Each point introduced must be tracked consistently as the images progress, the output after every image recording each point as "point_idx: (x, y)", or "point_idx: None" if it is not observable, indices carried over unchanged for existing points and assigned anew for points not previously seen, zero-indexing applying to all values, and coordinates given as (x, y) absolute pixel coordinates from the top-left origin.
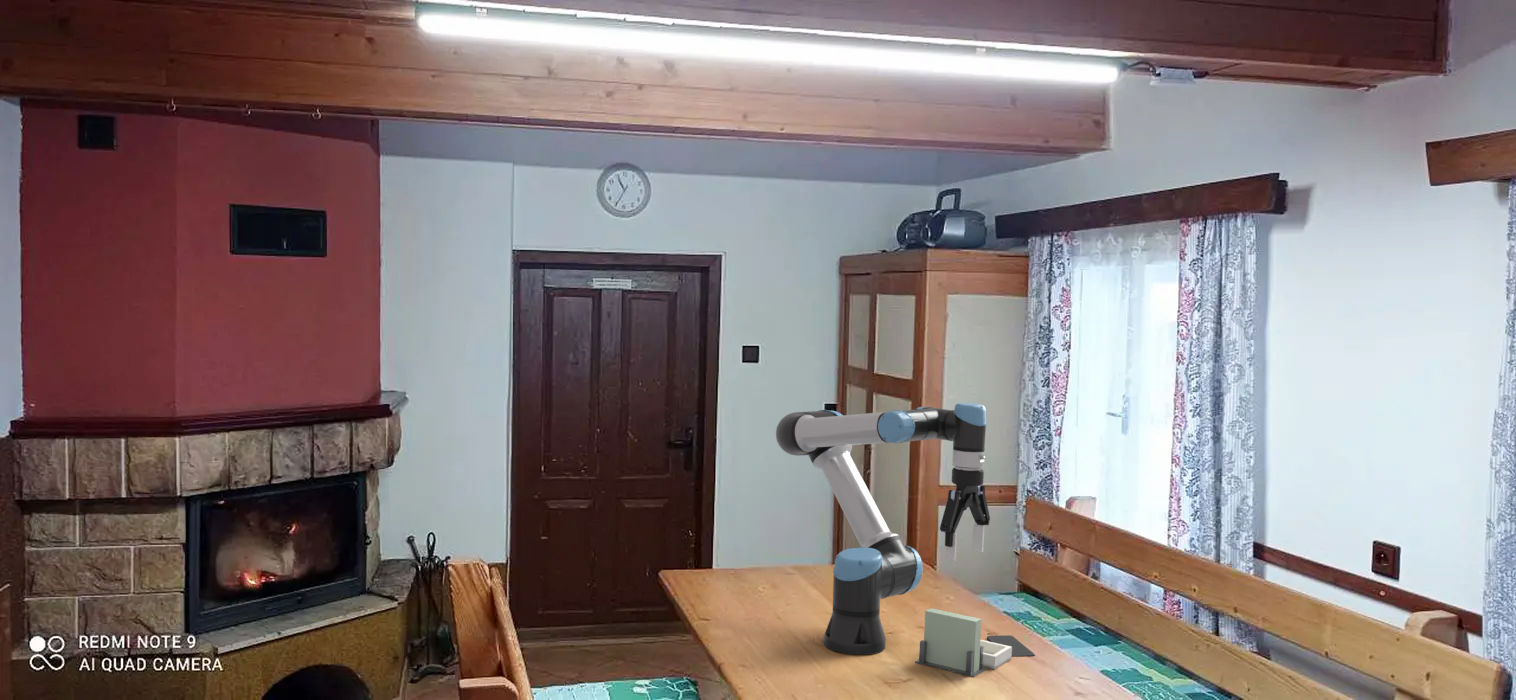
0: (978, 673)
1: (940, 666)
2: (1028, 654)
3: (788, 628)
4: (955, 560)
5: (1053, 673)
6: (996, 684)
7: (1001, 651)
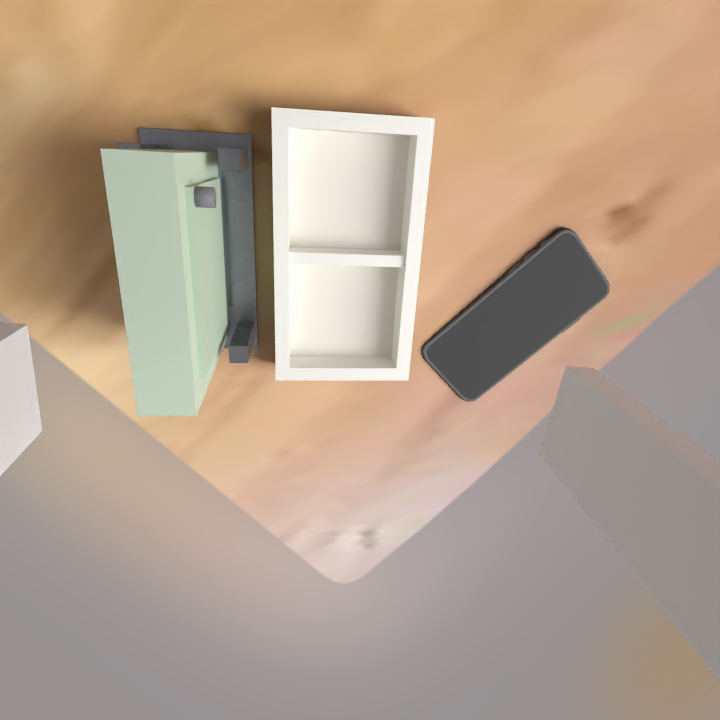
0: None
1: None
2: (460, 390)
3: None
4: (34, 431)
5: (354, 482)
6: None
7: (339, 374)
